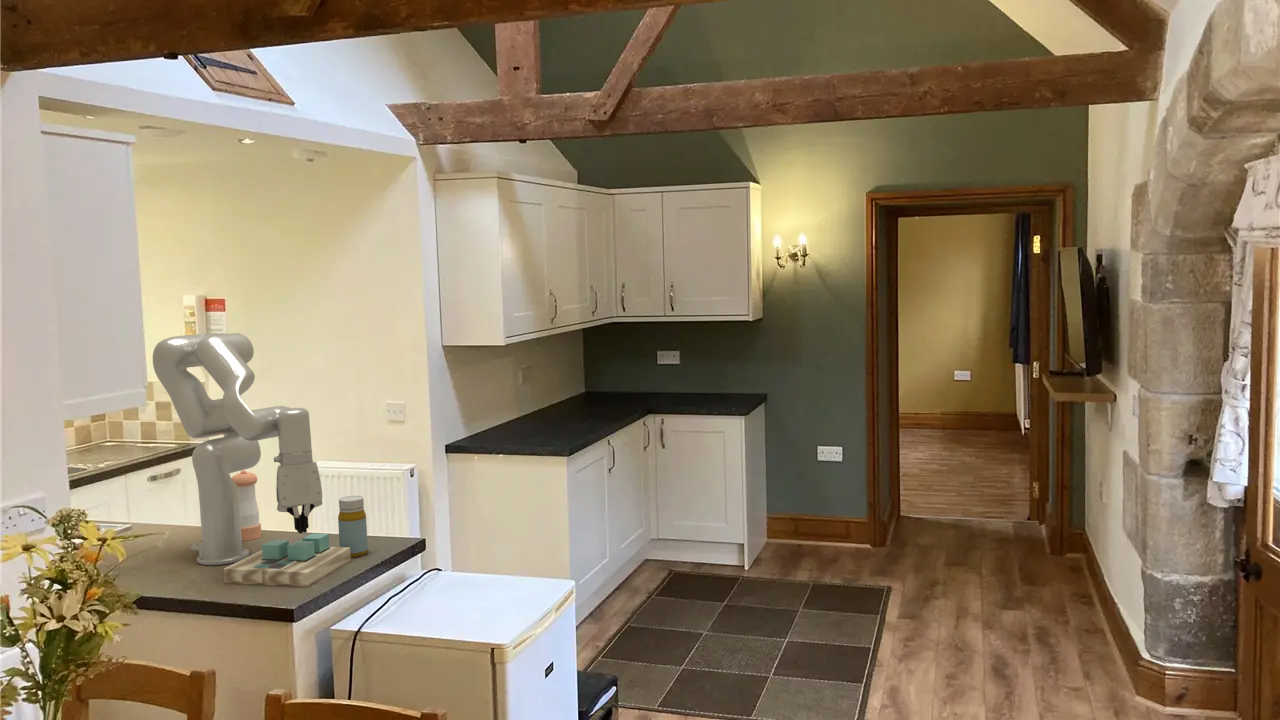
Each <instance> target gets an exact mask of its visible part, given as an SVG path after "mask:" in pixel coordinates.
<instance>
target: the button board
mask: <svg viewBox="0 0 1280 720" xmlns="http://www.w3.org/2000/svg"><path fill="white" fill-rule="evenodd" d="M351 561H352V558H351V554H350V547H340V546H329V548H327V549H325V550H324V551H322V552H315V555H314V556H313V557H311V558H309V559H307V560H305V561H302V560H288V555H287V556H285V557H283V558H281V559H280V560H277V559H263V558H262V549H261V550H259V551H257V552H255V553H252V554H251V555H249V556H248V557H247V558H245V559H243V560H240V561H237V562H234V563H232V564H230V565H229V566H226V567H224V568H223V582H224V584H239V585H255V584H259V585H262V586H277V585H281V586H280V587H282V586H283V587H303V588H308V587H310V586H312V585H313V584H315V583H317V582H318V581H320V580H322V579H324V577H326V576H328V575H329V574H331V573H334V572H335V571H336V570H338V569H340V568H341V567H343V566H344V565H347V564H348V563H350V562H351ZM259 585H258V586H259Z"/></svg>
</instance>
